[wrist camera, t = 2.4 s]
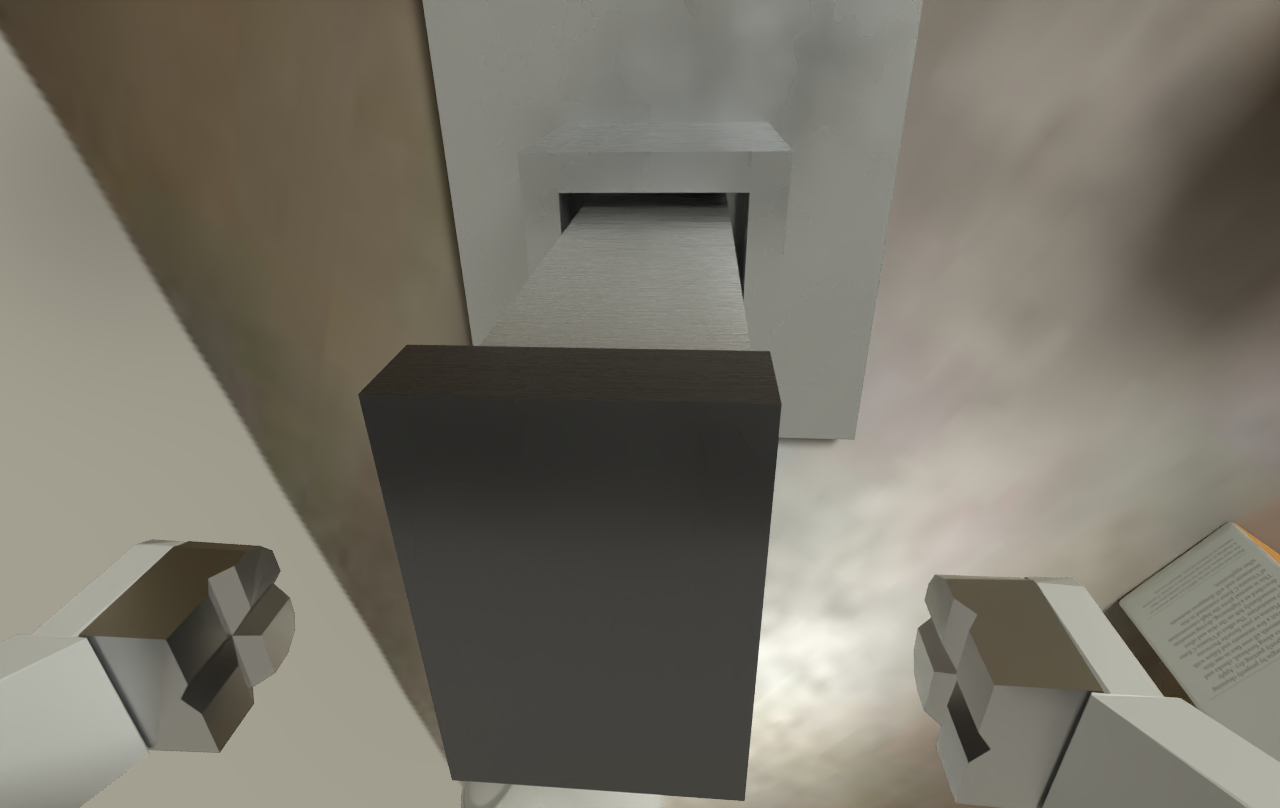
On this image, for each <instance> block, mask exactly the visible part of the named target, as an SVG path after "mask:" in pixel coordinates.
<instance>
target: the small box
mask: <svg viewBox="0 0 1280 808" xmlns="http://www.w3.org/2000/svg"><path fill="white" fill-rule="evenodd" d="M1119 605H1120V606H1121V608H1122V609H1123V610H1124V611H1125V613H1126V614H1127V615H1128V617H1129V618H1130V619H1131V621H1132V622H1133V623H1134V625H1135V626H1136V627H1137V628H1138V630H1139V631H1140V632H1141V634H1142V635H1143V636H1144V638H1145V639H1146V640H1147V642H1148V643H1149V644H1150V646H1151V647H1152V648H1153V650H1154V651H1155V652H1156V654H1157V655H1158V656H1159V657H1160V659H1161V660H1162V661H1163V663H1164V664H1165V665H1166V667H1167V668H1168V669H1169V671H1170V672H1171V673H1172V675H1173V676H1174V677H1175V679H1176V680H1177V681H1178V683H1179V684H1180V685H1181V687H1182V688H1183V689H1184V691H1185V692H1186V693H1187V695H1188V696H1189V697H1190V699H1191V700H1192V702H1193V703H1194V704H1195V706H1196V707H1197V708H1198V710H1200V711H1201V712H1203V713H1204V714H1206V715H1207V716H1209V717H1210V718H1212V719H1213V720H1215V721H1217V722H1218V723H1220V724H1221V725H1223V726H1224V727H1226V728H1227V729H1229V730H1230V731H1232V732H1234V733H1235V734H1237V735H1238V736H1240V737H1241V738H1243V739H1244V740H1246V741H1248V742H1249V743H1251V744H1252V745H1254V746H1255V747H1257V748H1258V749H1260V750H1261V751H1263V752H1265V753H1266V754H1268V755H1269V756H1271V757H1272V758H1274V759H1275V760H1277V761H1278V762H1280V554H1278V553H1277V552H1275V551H1274V550H1272V549H1271V548H1269V547H1268V546H1267V545H1265V544H1264V543H1262V542H1261V541H1259V540H1258V539H1257V538H1255V537H1254V536H1252V535H1251V534H1249V533H1248V532H1247V531H1245V530H1244V529H1242V528H1241V527H1240V526H1238V525H1237V524H1236V523H1233V522H1232V523H1231V522H1228V523H1226V524H1224V525H1223V526H1222V527H1220V528H1219V529H1218V530H1216V531H1215V532H1214V533H1212V534H1211V535H1209V536H1208V537H1207V538H1205V539H1204V540H1203V541H1201V542H1200V543H1198V544H1197V545H1196V546H1194V547H1193V548H1192V549H1190V550H1189V551H1187V552H1186V553H1185V554H1183V555H1182V556H1181V557H1179V558H1178V559H1176V560H1175V561H1173V562H1172V563H1171V564H1169V565H1168V566H1166V567H1165V568H1164V569H1162V570H1161V571H1159V572H1158V573H1156V574H1155V575H1153V576H1152V577H1151V578H1149V579H1148V580H1146V581H1145V582H1144V583H1142V584H1141V585H1140V586H1138V587H1137V588H1136V589H1134V590H1133V591H1132V592H1130V593H1129V594H1127V595H1126V596H1125V597H1124V598H1122V599H1121V600H1120V602H1119Z"/></svg>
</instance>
